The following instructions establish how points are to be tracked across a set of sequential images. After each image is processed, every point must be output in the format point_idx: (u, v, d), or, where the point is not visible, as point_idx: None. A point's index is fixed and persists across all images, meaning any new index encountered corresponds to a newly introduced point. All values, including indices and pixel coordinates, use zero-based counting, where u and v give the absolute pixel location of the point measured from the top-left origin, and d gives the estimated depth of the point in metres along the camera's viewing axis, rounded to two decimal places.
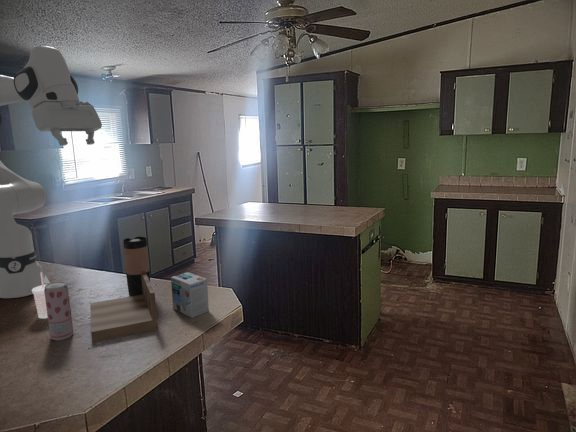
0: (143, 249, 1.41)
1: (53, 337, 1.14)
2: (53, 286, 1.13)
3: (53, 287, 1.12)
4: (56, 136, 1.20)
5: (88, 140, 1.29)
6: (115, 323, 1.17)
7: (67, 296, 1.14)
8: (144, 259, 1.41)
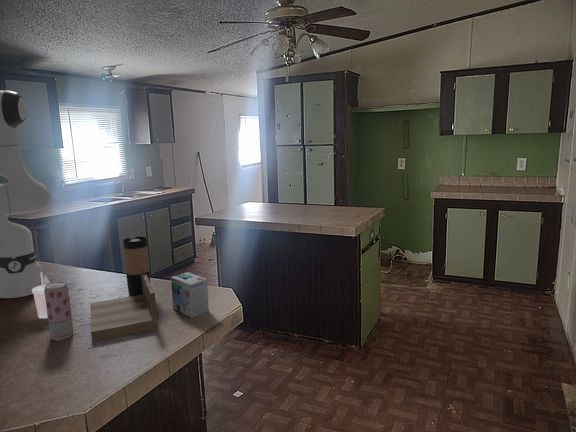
0: (143, 249, 1.41)
1: (53, 337, 1.14)
2: (53, 286, 1.13)
3: (53, 287, 1.12)
4: None
5: None
6: (115, 323, 1.17)
7: (67, 296, 1.14)
8: (144, 259, 1.41)
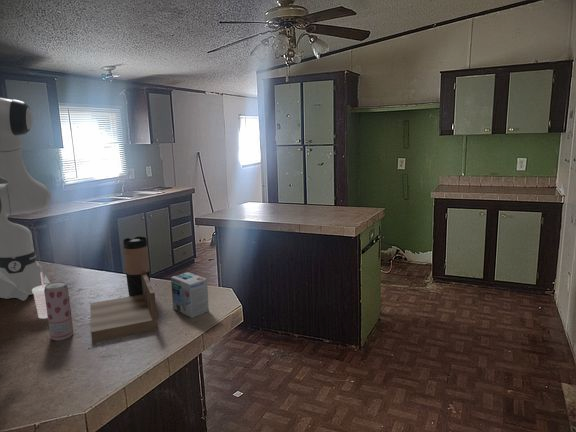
0: (143, 249, 1.41)
1: (53, 337, 1.14)
2: (53, 286, 1.13)
3: (53, 287, 1.12)
4: None
5: None
6: (115, 323, 1.17)
7: (67, 296, 1.14)
8: (144, 259, 1.41)
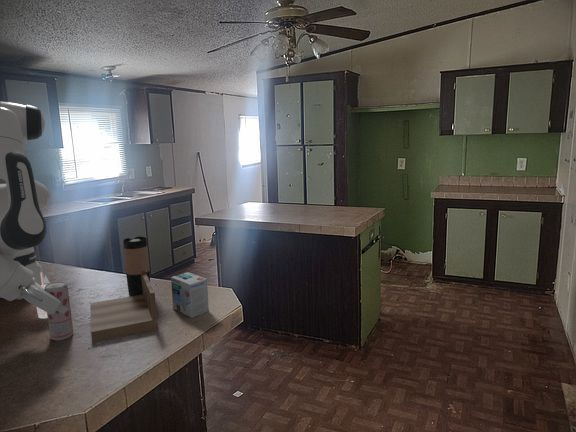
0: (143, 249, 1.41)
1: (53, 337, 1.14)
2: (53, 286, 1.13)
3: (53, 287, 1.12)
4: None
5: None
6: (115, 323, 1.17)
7: (67, 296, 1.14)
8: (144, 259, 1.41)
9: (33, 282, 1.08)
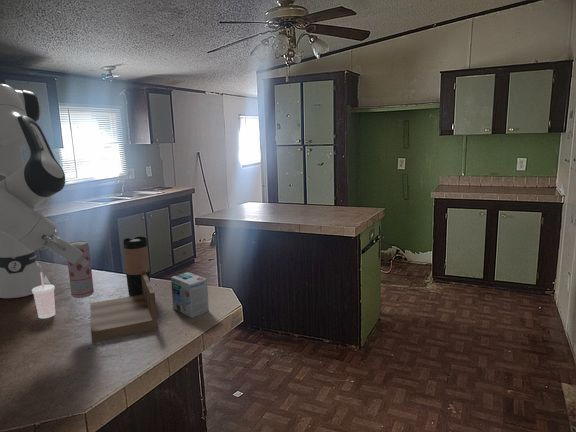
0: (143, 249, 1.41)
1: (74, 295, 1.15)
2: (75, 244, 1.14)
3: (75, 245, 1.14)
4: None
5: None
6: (115, 323, 1.17)
7: (88, 254, 1.16)
8: (144, 259, 1.41)
9: (56, 234, 1.09)
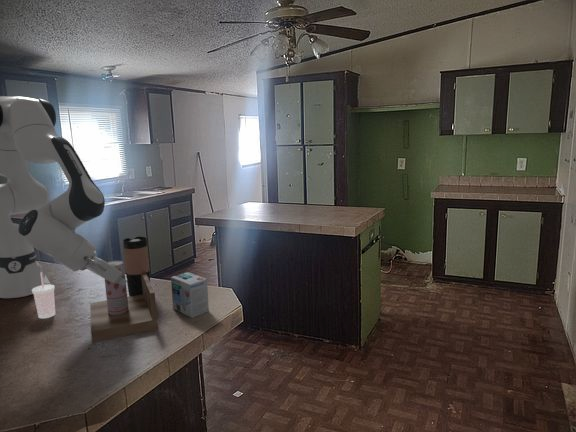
0: (143, 249, 1.41)
1: (111, 312, 1.22)
2: (112, 264, 1.21)
3: (112, 265, 1.20)
4: None
5: None
6: (115, 323, 1.17)
7: (124, 274, 1.23)
8: (144, 259, 1.41)
9: (95, 254, 1.16)
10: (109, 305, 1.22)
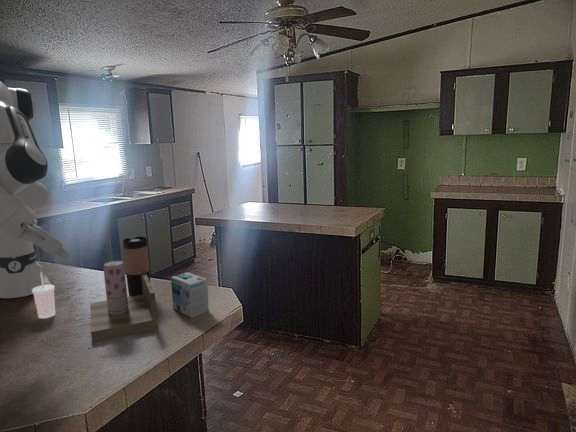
0: (143, 249, 1.41)
1: (111, 312, 1.22)
2: (112, 264, 1.21)
3: (112, 265, 1.20)
4: None
5: None
6: (115, 323, 1.17)
7: (124, 274, 1.23)
8: (144, 259, 1.41)
9: (35, 223, 1.06)
10: (109, 305, 1.22)
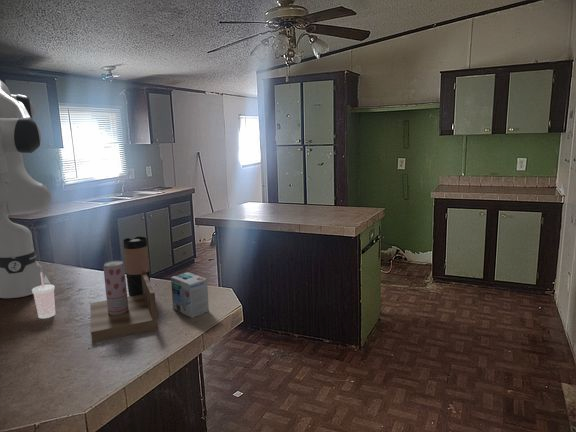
0: (143, 249, 1.41)
1: (111, 312, 1.22)
2: (112, 264, 1.21)
3: (112, 265, 1.20)
4: None
5: None
6: (115, 323, 1.17)
7: (124, 274, 1.23)
8: (144, 259, 1.41)
9: None
10: (109, 305, 1.22)
